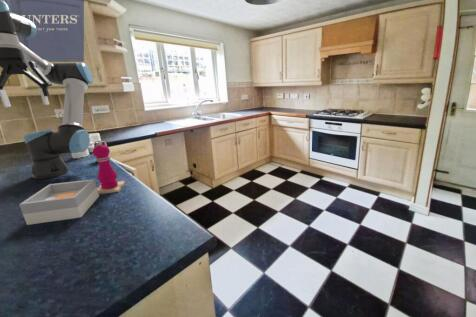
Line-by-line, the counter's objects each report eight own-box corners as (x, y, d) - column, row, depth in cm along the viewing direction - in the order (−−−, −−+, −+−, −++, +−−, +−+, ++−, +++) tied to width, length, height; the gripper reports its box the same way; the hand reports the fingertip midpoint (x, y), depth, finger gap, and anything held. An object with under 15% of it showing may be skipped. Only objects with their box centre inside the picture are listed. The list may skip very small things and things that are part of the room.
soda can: (96, 160, 139) (91, 141, 136) (108, 157, 144) (104, 139, 140) (99, 162, 135) (94, 143, 131) (111, 159, 139) (107, 141, 136)
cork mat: (102, 185, 101) (101, 183, 100) (125, 182, 102) (125, 180, 102) (93, 194, 91) (92, 192, 91) (119, 191, 93) (118, 189, 93)
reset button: (62, 205, 83) (58, 194, 82) (79, 203, 84) (76, 192, 83) (52, 213, 78) (49, 202, 76) (71, 211, 79) (68, 199, 77)
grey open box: (55, 201, 87) (49, 184, 85) (99, 196, 90) (94, 179, 88) (27, 224, 72) (19, 204, 70) (81, 217, 75) (75, 197, 73)
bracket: (85, 158, 146) (80, 140, 142) (70, 158, 146) (65, 141, 142) (105, 148, 170) (102, 132, 166) (93, 148, 170) (89, 133, 166)
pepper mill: (113, 181, 101) (102, 139, 95) (122, 184, 98) (112, 140, 92) (96, 187, 96) (84, 143, 89) (106, 191, 92) (94, 144, 86)
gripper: (-43, 46, 77) (-18, 108, 83) (40, 45, 82) (57, 104, 89) (-24, 50, 84) (-2, 107, 90) (51, 49, 89) (66, 103, 96)
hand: (27, 105), depth 90 cm, fingers open, 13 cm apart
